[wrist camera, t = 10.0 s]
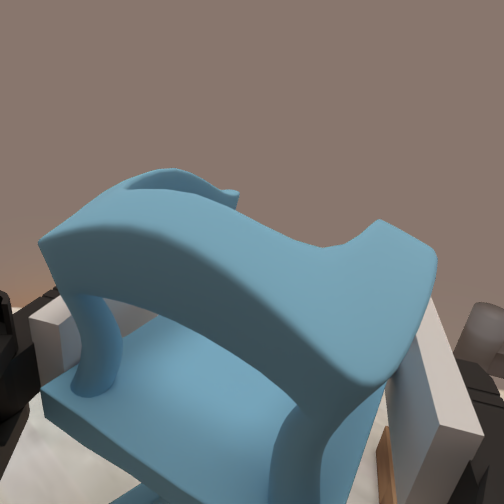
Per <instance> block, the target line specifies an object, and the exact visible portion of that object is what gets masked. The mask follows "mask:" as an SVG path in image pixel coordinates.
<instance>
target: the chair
mask: <svg viewBox="0 0 504 504" xmlns="http://www.w3.org/2000/svg"><path fill="white" fill-rule="evenodd" d="M239 195H240V193H239V192H238V191H235V190H219V189H218V188H216V187H215V186H213V185H211V184H210V183H208V182H206V181H205V180H204V179H202V178H200V177H198V176H196V175H194V174H192V173H190V172H187V171H184V170H180V169H176V168H169V169H157V170H153V171H150V172H147V173H144V174H141V175H138V176H135V177H132V178H130V179H127V180H124V181H122V182H120V183H119V184H117V185H115V186H113V187H111V188H110V189H108V190H106V191H104V192H103V193H101V194H100V195H99V196H97V197H96V198H95V199H93V200H92V201H91V202H89V203H88V204H86V205H85V206H84V207H83V208H81V209H80V210H79V211H78V212H76V213H75V214H74V215H72V216H71V217H70V218H68V219H67V220H66V221H64V222H63V223H62V224H60V225H59V226H57V227H56V228H54V229H53V230H52V231H50V232H49V233H47V234H46V235H45V236H43V237H42V238H41V239H39V241H38V246H39V248H40V250H41V252H42V254H43V257H44V258H45V261H46V263H47V265H48V267H49V270H50V272H51V274H52V277H53V279H54V281H55V284H56V286H57V289H58V291H59V293H60V295H61V297H62V299H63V300H64V302H65V304H66V306H67V307H68V309H69V311H70V313H71V315H72V317H73V319H74V321H75V323H76V325H77V328H78V330H79V333H80V337H81V343H82V348H81V357H80V361H79V363H78V364H77V365H75V366H74V367H72V368H71V369H69V370H67V371H66V372H64V373H63V374H61V375H60V376H58V377H56V378H55V379H53V380H52V381H50V382H49V383H47V384H46V385H44V386H42V387H41V388H40V392H41V398H42V404H43V410H44V416H45V418H46V419H48V420H49V421H51V422H52V423H53V424H55V425H56V426H57V427H59V428H60V429H62V430H63V431H64V432H66V433H67V434H68V435H70V436H71V437H72V438H74V439H75V440H77V441H78V442H79V443H81V444H82V445H83V446H85V447H87V448H88V449H90V450H92V451H93V452H95V453H96V454H98V455H100V456H101V457H103V458H105V459H106V460H108V461H110V462H111V463H113V464H114V465H116V466H118V467H119V468H121V469H123V470H124V471H126V472H127V473H129V474H130V475H132V476H133V477H134V478H136V479H137V480H139V481H140V482H141V484H139V485H138V486H136V487H135V488H133V489H131V490H130V491H128V492H127V493H125V494H124V495H122V496H120V497H119V498H117V499H116V500H114V501H113V502H111V503H109V504H346V502H347V499H348V496H349V493H350V490H351V487H352V484H353V481H354V478H355V475H356V472H357V470H358V467H359V464H360V461H361V458H362V455H363V452H364V449H365V446H366V443H367V440H368V437H369V434H370V431H371V428H372V425H373V422H374V419H375V416H376V413H377V410H378V407H379V404H380V401H381V398H382V395H383V392H384V389H385V386H386V383H387V380H388V379H389V378H390V377H391V376H392V375H393V374H394V373H395V372H396V371H397V369H398V367H399V366H400V364H401V362H402V361H403V359H404V357H405V356H406V354H407V352H408V350H409V348H410V346H411V344H412V342H413V340H414V338H415V335H416V333H417V331H418V329H419V327H420V324H421V321H422V319H423V316H424V314H425V311H426V308H427V306H428V303H429V300H430V297H431V293H432V289H433V286H434V282H435V279H436V271H437V262H438V261H437V260H438V258H437V256H436V253H435V251H434V250H433V249H432V248H431V247H429V246H428V245H426V244H425V243H423V242H421V241H419V240H418V239H416V238H414V237H413V236H411V235H409V234H407V233H405V232H403V231H402V230H400V229H398V228H396V227H394V226H393V225H391V224H389V223H387V222H385V221H383V220H379V219H378V220H376V221H375V222H374V223H372V224H371V225H370V226H369V227H368V228H367V229H366V230H364V231H363V232H362V233H361V234H360V235H358V236H357V237H355V238H353V239H352V240H350V241H349V242H347V243H345V244H342V245H337V246H332V247H326V248H320V247H317V246H313V245H310V244H306V243H303V242H300V241H296V240H293V239H291V238H289V237H287V236H285V235H283V234H281V233H279V232H277V231H274V230H272V229H270V228H268V227H266V226H264V225H262V224H261V223H259V222H257V221H255V220H253V219H251V218H249V217H247V216H245V215H243V214H241V213H239V212H237V211H235V209H236V206H237V202H238V198H239ZM103 298H107V299H111V300H115V301H120V302H124V303H127V304H130V305H133V306H136V307H139V308H143V309H146V310H149V311H151V312H153V313H156V314H158V316H156V317H155V318H153V319H152V320H150V321H149V322H147V323H146V324H144V325H143V326H141V327H140V328H138V329H136V330H135V331H133V332H132V333H130V334H129V335H127V336H125V337H123V338H122V336H121V333H120V329H119V326H118V324H117V322H116V320H115V318H114V316H113V314H112V312H111V310H110V309H109V307H108V305H107V304H106V302H105V301H104V299H103Z"/></svg>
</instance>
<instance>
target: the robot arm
mask: <svg viewBox="0 0 504 504" xmlns="http://www.w3.org/2000/svg"><path fill="white" fill-rule="evenodd" d="M103 299H104V301H105V302H106V304H107V305H108V307H109V309H110V310H111V312H112V314H113V316H114V318H115V320H116V322H117V324H118V326H119V329H120V333H121V336H122V338H123V337H125V336H127V335H129V334H130V333H132V332H133V331H135V330H136V329H138V328H140V327H141V326H143V325H144V324H146V323H147V322H149V321H150V320H152V319H153V318H155V317H156V316H158V314H156V313H153V312H151V311H149V310H146V309H143V308H139V307H136V306H133V305H130V304H127V303H124V302H120V301H115V300H111V299H107V298H103ZM81 348H82V343H81V337H80V333H79V330H78V328H77V325H76V323H75V321H74V319H73V317H72V315H71V313H70V311H69V309H68V307H67V306H66V304H65V302H64V300H63V299H62V297H61V295H60V293H59V291H58V289H57V286H56V287H54V288H53V290H49V291H48V292H46V293H45V294H43V296H42V297H39V298H37V299H36V300H34V301H33V302H31V303H30V304H28V305H27V306H25V307H23V308H22V309H20V310H19V311H17V312H16V313H14V314H12V309H11V303H10V298H9V297H8V295H7V293H5V292H3V291H1V290H0V480H1V478H2V476H3V473H4V471H5V469H6V467H7V465H8V462H9V460H10V458H11V456H12V453H13V451H14V449H15V447H16V445H17V442H18V440H19V438H20V436H21V433H22V431H23V429H24V427H25V425H26V422H27V420H28V418H29V412H30V408H29V401H30V400H31V399H32V398H33V397H34V396H35V395H36V394H37V393H39V392H40V388H41V387H42V386H44V385H46V384H47V383H49V382H50V381H52V380H53V379H55V378H56V377H58V376H60V375H61V374H63V373H64V372H66V371H67V370H69V369H71V368H72V367H74V366H75V365H77V364H78V363H79V361H80V357H81ZM385 396H386V405H387V414H388V423H389V432H390V441H391V450H392V460H393V469H394V478H395V487H396V496H397V504H504V401H503V399H502V398H501V397H500V393H499V391H498V389H497V387H496V385H495V383H494V381H493V379H492V378H491V377H490V376H489V375H488V374H487V372H486V371H485V370H484V369H483V368H482V367H481V366H480V365H479V364H478V363H475V362H470V361H466V360H462V359H457V358H454V355H453V353H452V350H451V347H450V345H449V342H448V340H447V337H446V334H445V332H444V329H443V327H442V324H441V321H440V319H439V316H438V314H437V311H436V309H435V306H434V303H433V301H432V298H431V297H430V300H429V303H428V306H427V308H426V311H425V314H424V316H423V319H422V321H421V324H420V327H419V329H418V331H417V333H416V335H415V338H414V340H413V342H412V344H411V346H410V348H409V350H408V352H407V354H406V356H405V357H404V359H403V361H402V362H401V364H400V366H399V367H398V369H397V371H396V372H395V373H394V374H393V375H392V376H391V377H390V378H389V379H388V380H387V383H386V386H385ZM41 399H42V398H41ZM42 405H43V404H42Z"/></svg>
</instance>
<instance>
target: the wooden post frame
mask: <svg viewBox="0 0 504 504" xmlns="http://www.w3.org/2000/svg"><path fill="white" fill-rule="evenodd" d="M453 355H454V358H457V359H462V360H466V361H470V362H475V363H478V364H479V365H480V366H481V367H482V368H483V369H484V370H485V371H486V372H487V374H488V375H491V376H495V377H499V378H503V379H504V309H503V308H500V307H498V306H496V305H493V304H490V303H484V302H478V303H475V304H474V306H473V308H472V311H471V313H470V315H469V317H468V320H467V322H466V324H465V327H464V329H463V331H462V333H461V336H460V338H459V340H458V343H457V345H456V347H455V350H454V352H453ZM376 458H377V472H378V487H379V502H380V504H397V496H396V487H395V478H394V469H393V460H392V450H391V441H390V432H389V427H388V426H385V428H384V431H383V434H382V436H381V439H380V441H379V444H378V447H377V449H376Z"/></svg>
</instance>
